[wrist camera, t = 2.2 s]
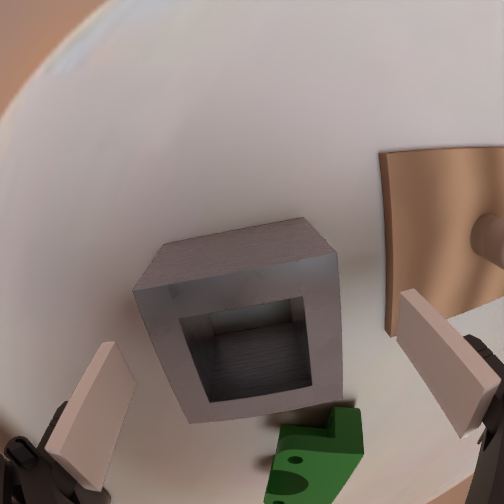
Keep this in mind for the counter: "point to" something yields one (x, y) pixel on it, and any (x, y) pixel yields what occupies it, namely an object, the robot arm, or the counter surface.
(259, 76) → the counter surface
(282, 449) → the clamp
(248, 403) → the collar
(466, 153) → the post board
